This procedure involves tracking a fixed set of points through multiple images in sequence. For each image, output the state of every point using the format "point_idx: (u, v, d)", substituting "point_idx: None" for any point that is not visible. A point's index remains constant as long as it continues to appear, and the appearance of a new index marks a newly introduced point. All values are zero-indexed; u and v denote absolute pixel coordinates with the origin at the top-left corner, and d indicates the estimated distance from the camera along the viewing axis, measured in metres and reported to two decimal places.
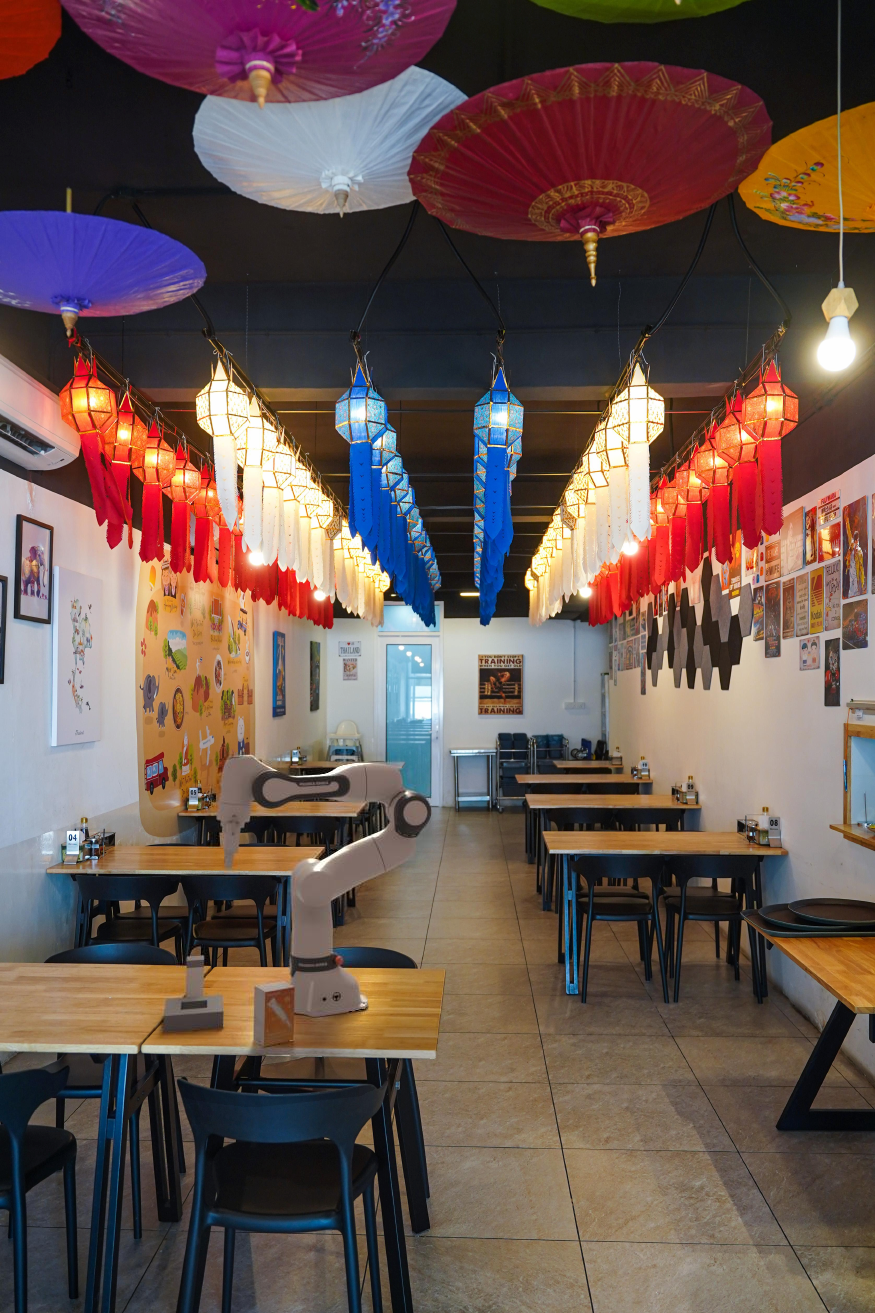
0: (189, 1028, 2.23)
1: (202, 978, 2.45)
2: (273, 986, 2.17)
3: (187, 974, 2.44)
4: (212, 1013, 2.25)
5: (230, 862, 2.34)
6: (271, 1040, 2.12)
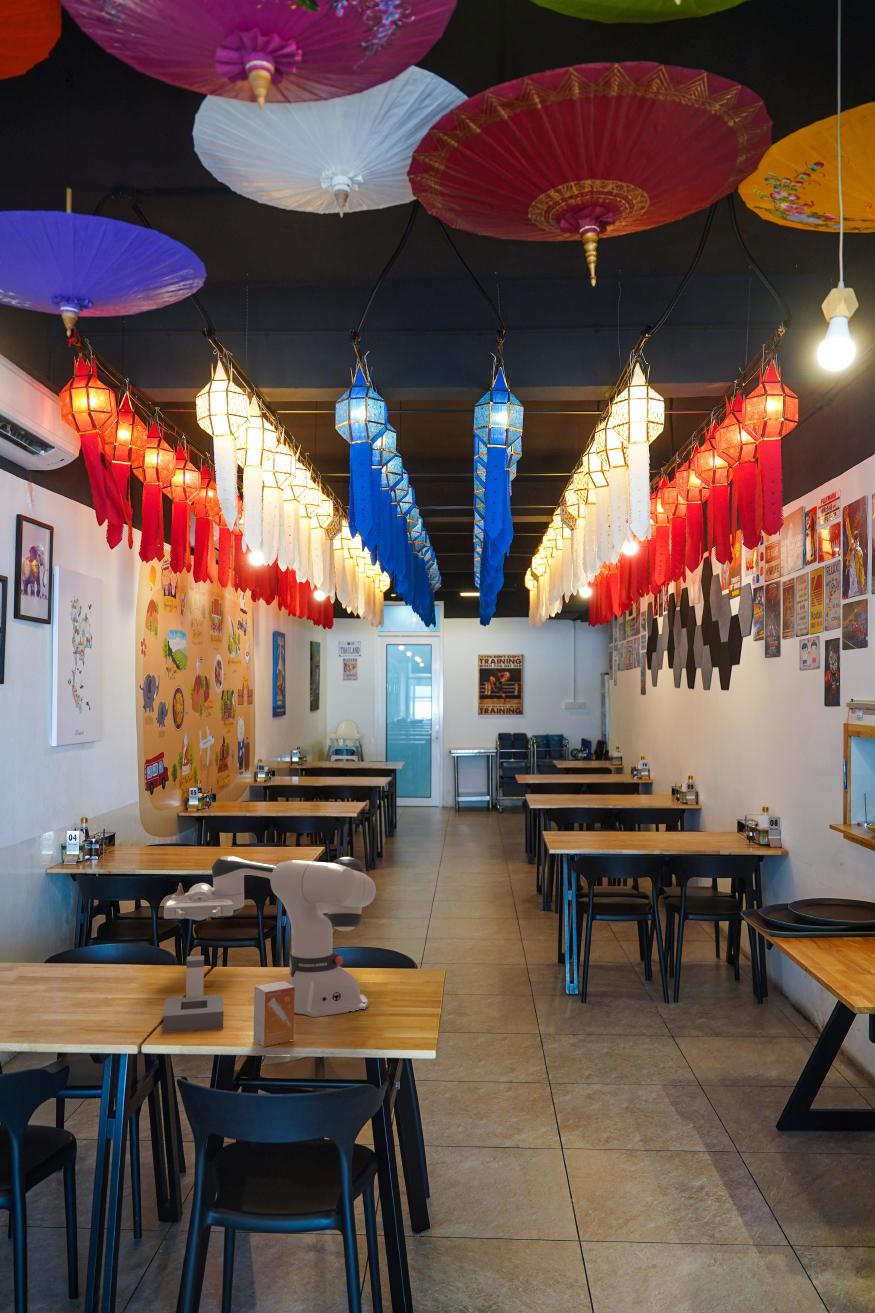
0: (189, 1028, 2.23)
1: (202, 978, 2.45)
2: (273, 986, 2.17)
3: (187, 974, 2.44)
4: (212, 1013, 2.25)
5: (217, 914, 2.63)
6: (271, 1040, 2.12)
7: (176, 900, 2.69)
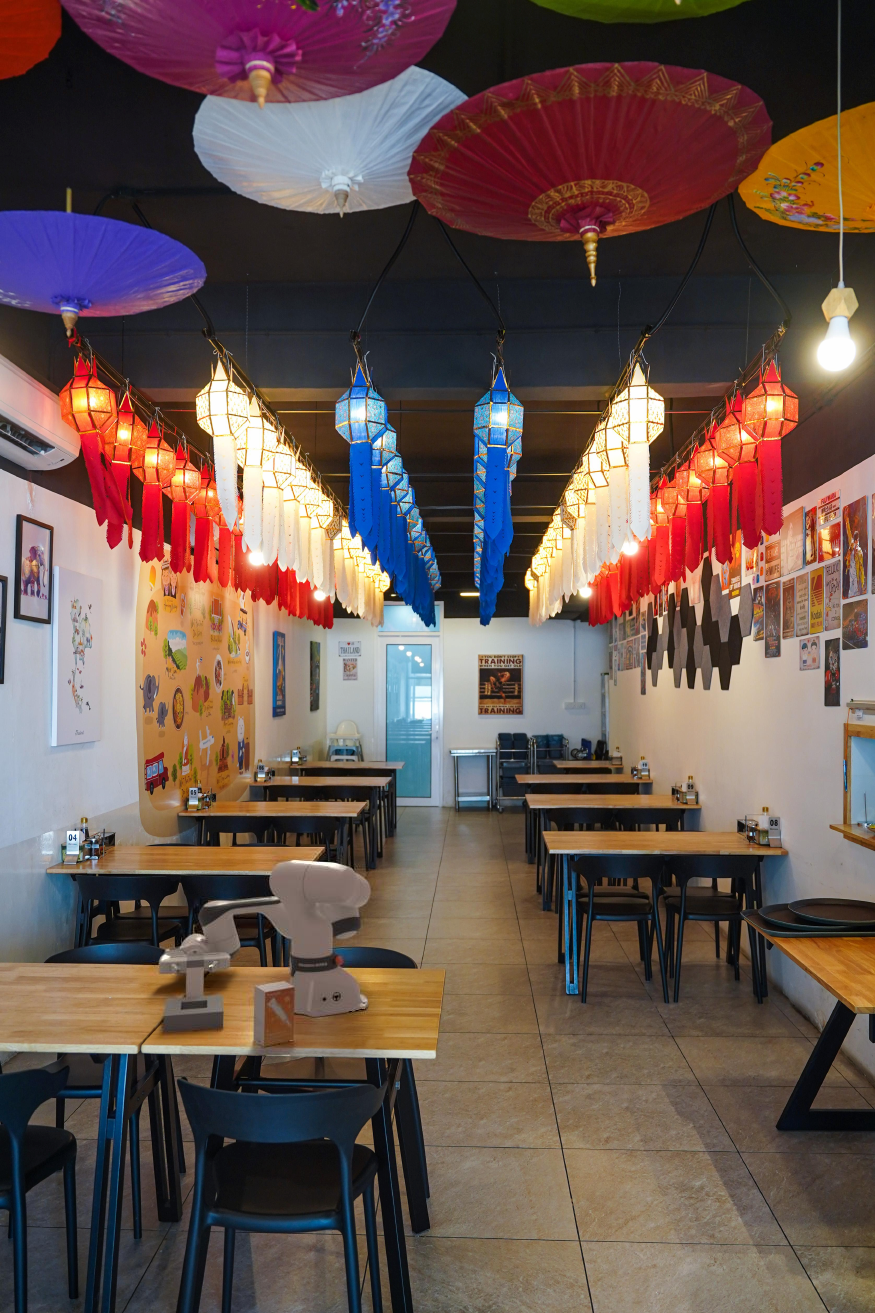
0: (189, 1028, 2.23)
1: (202, 978, 2.45)
2: (273, 986, 2.17)
3: (187, 974, 2.44)
4: (212, 1013, 2.25)
5: (214, 968, 2.57)
6: (271, 1040, 2.12)
7: (171, 954, 2.63)
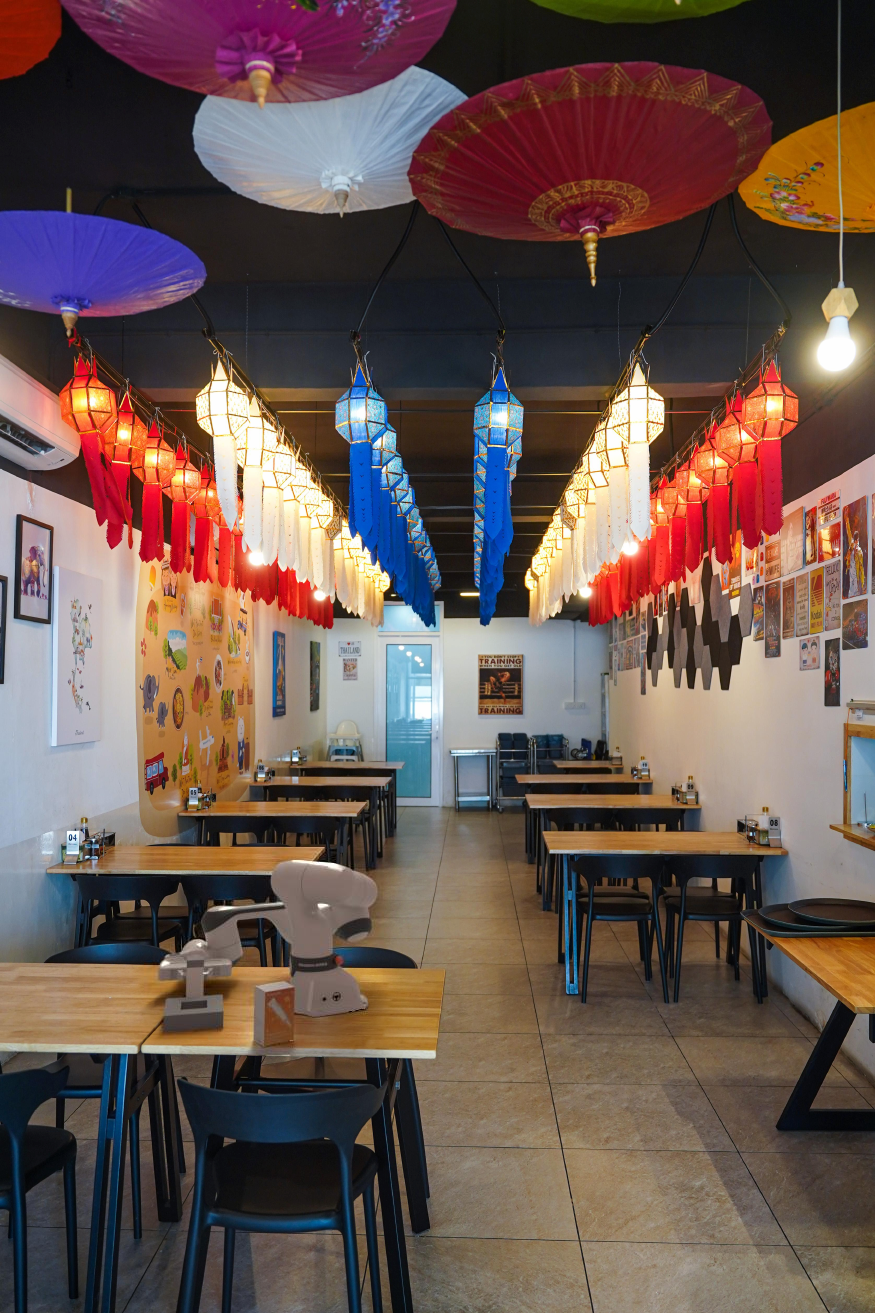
0: (189, 1028, 2.23)
1: (202, 978, 2.45)
2: (273, 986, 2.17)
3: (187, 974, 2.44)
4: (212, 1013, 2.25)
5: (209, 976, 2.48)
6: (271, 1040, 2.12)
7: (171, 960, 2.54)
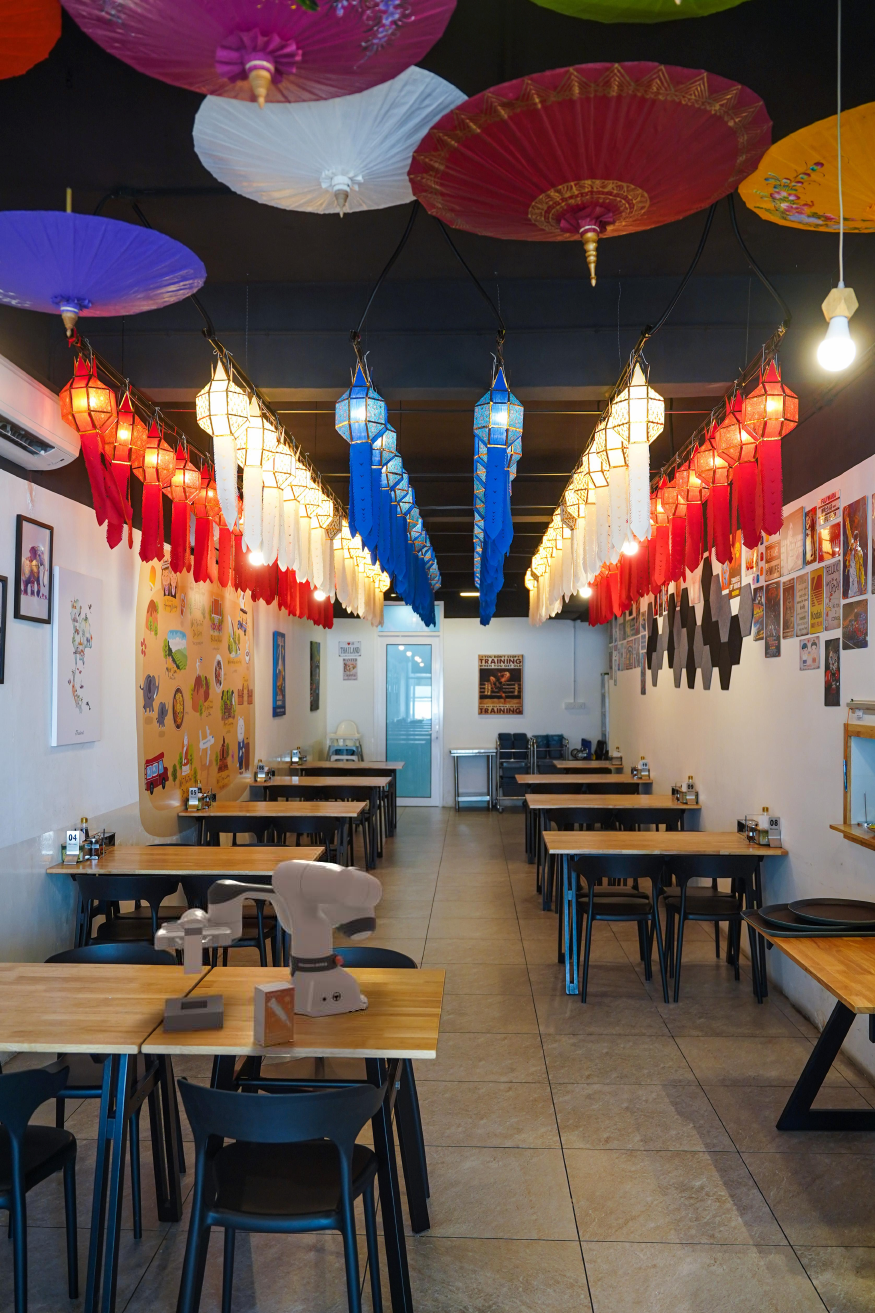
0: (189, 1028, 2.23)
1: (201, 947, 2.34)
2: (273, 986, 2.17)
3: (185, 942, 2.33)
4: (212, 1013, 2.25)
5: (208, 944, 2.38)
6: (271, 1040, 2.12)
7: (168, 929, 2.44)
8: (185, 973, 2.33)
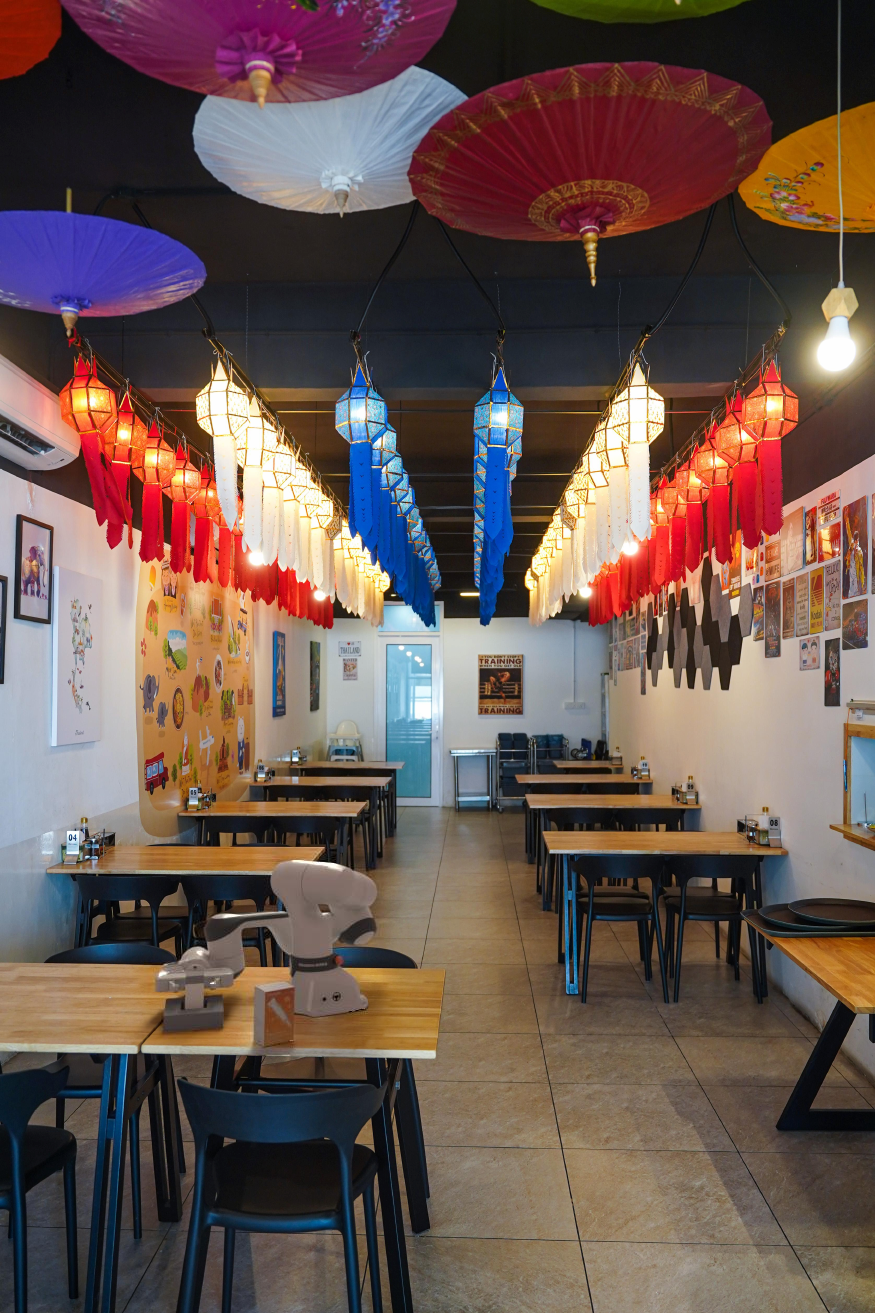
0: (189, 1028, 2.23)
1: (202, 995, 2.29)
2: (273, 986, 2.17)
3: (186, 991, 2.28)
4: (212, 1013, 2.25)
5: (216, 986, 2.33)
6: (271, 1040, 2.12)
7: (169, 970, 2.39)
8: None
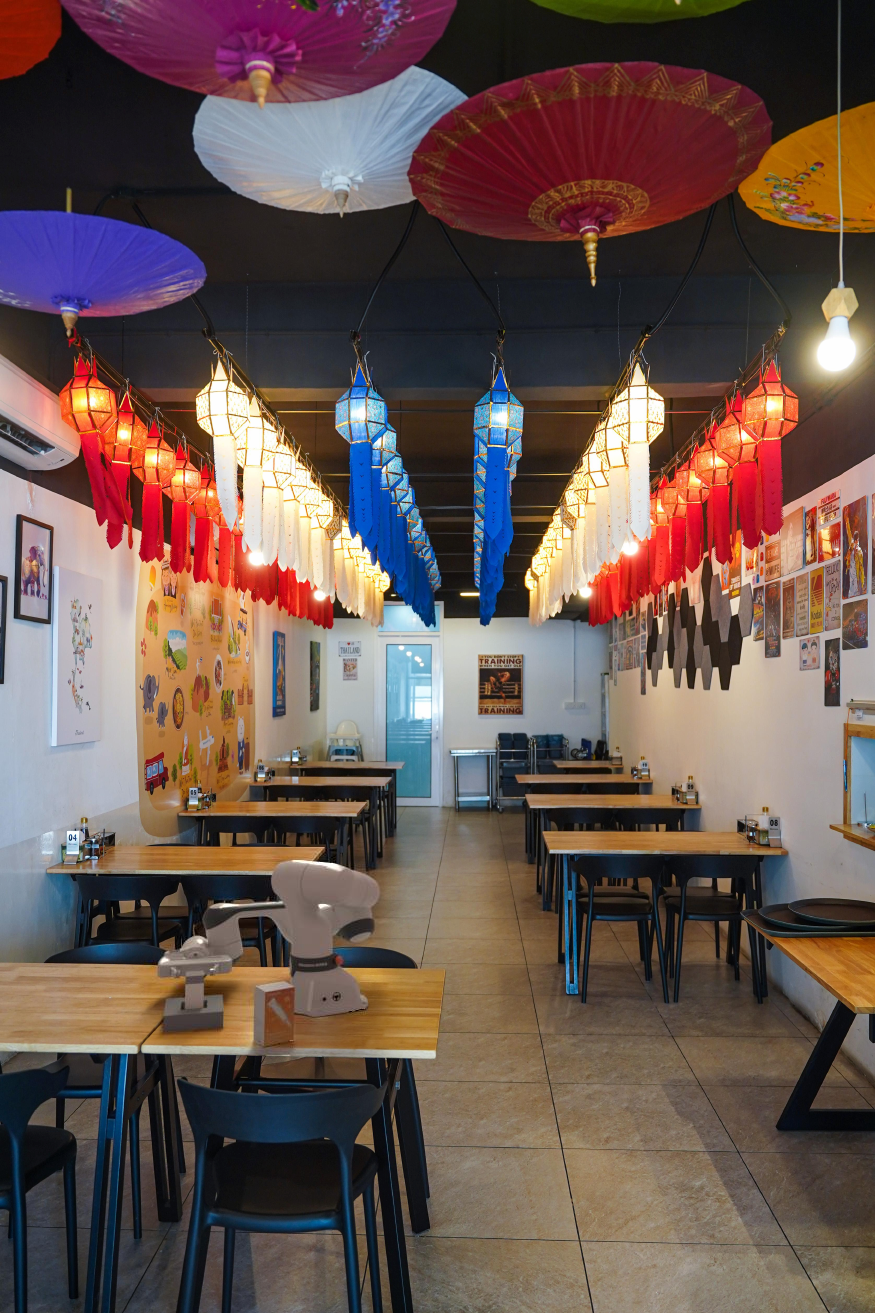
0: (189, 1028, 2.23)
1: (202, 995, 2.29)
2: (273, 986, 2.17)
3: (186, 991, 2.28)
4: (212, 1013, 2.25)
5: (215, 972, 2.46)
6: (271, 1040, 2.12)
7: (170, 957, 2.52)
8: None
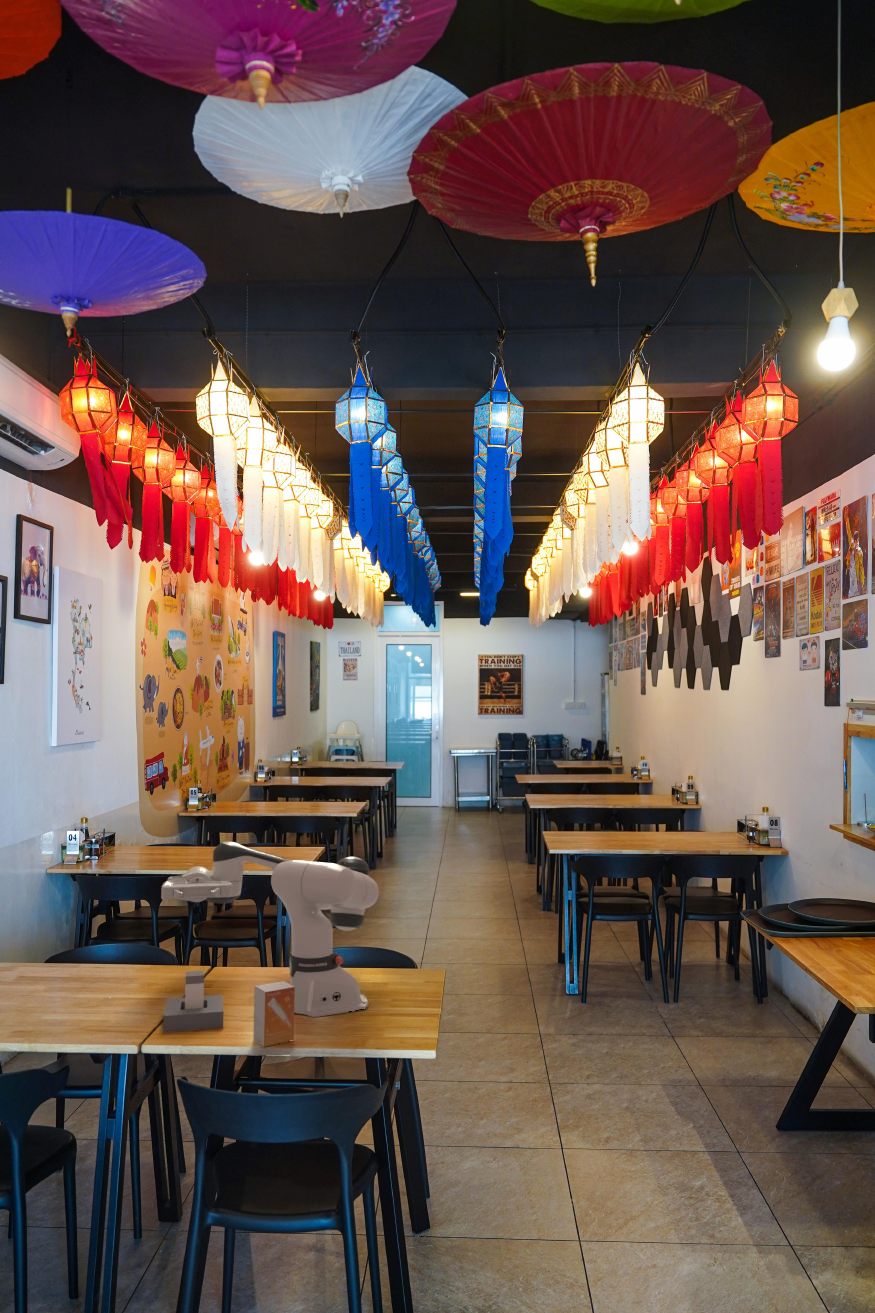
0: (189, 1028, 2.23)
1: (202, 995, 2.29)
2: (273, 986, 2.17)
3: (186, 991, 2.28)
4: (212, 1013, 2.25)
5: (216, 894, 2.58)
6: (271, 1040, 2.12)
7: (173, 881, 2.64)
8: None
